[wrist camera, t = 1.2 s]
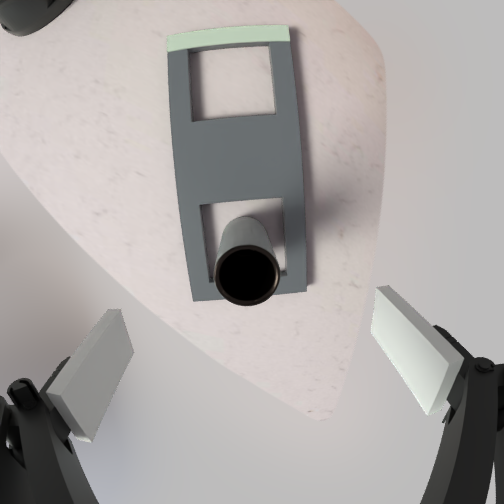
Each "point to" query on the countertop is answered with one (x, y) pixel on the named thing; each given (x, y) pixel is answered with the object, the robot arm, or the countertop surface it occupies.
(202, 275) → the panel
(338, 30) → the countertop surface
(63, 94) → the countertop surface
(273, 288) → the grey hollow cylinder
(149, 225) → the countertop surface
